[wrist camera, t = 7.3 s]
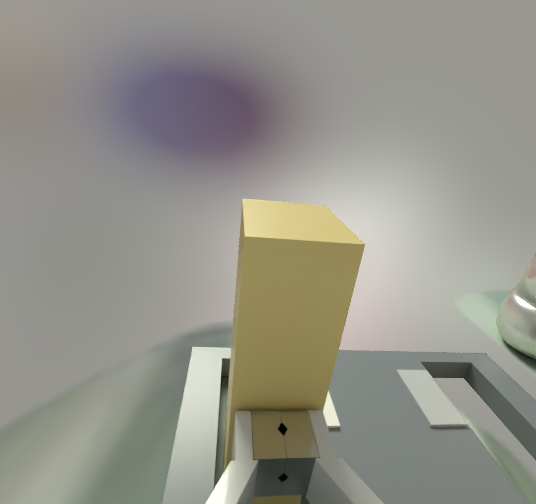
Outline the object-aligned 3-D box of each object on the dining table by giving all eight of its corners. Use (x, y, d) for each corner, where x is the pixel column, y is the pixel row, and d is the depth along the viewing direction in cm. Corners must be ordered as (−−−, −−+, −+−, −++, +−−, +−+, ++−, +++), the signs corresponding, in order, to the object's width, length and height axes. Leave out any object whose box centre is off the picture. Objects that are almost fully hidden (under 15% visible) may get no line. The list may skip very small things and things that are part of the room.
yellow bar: (224, 434, 16) (242, 198, 11) (282, 433, 17) (325, 205, 12) (220, 525, 13) (244, 236, 8) (295, 521, 13) (364, 244, 8)
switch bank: (192, 364, 21) (192, 344, 20) (478, 368, 24) (486, 351, 23) (90, 921, 6) (79, 918, 6) (860, 763, 9) (913, 747, 9)
